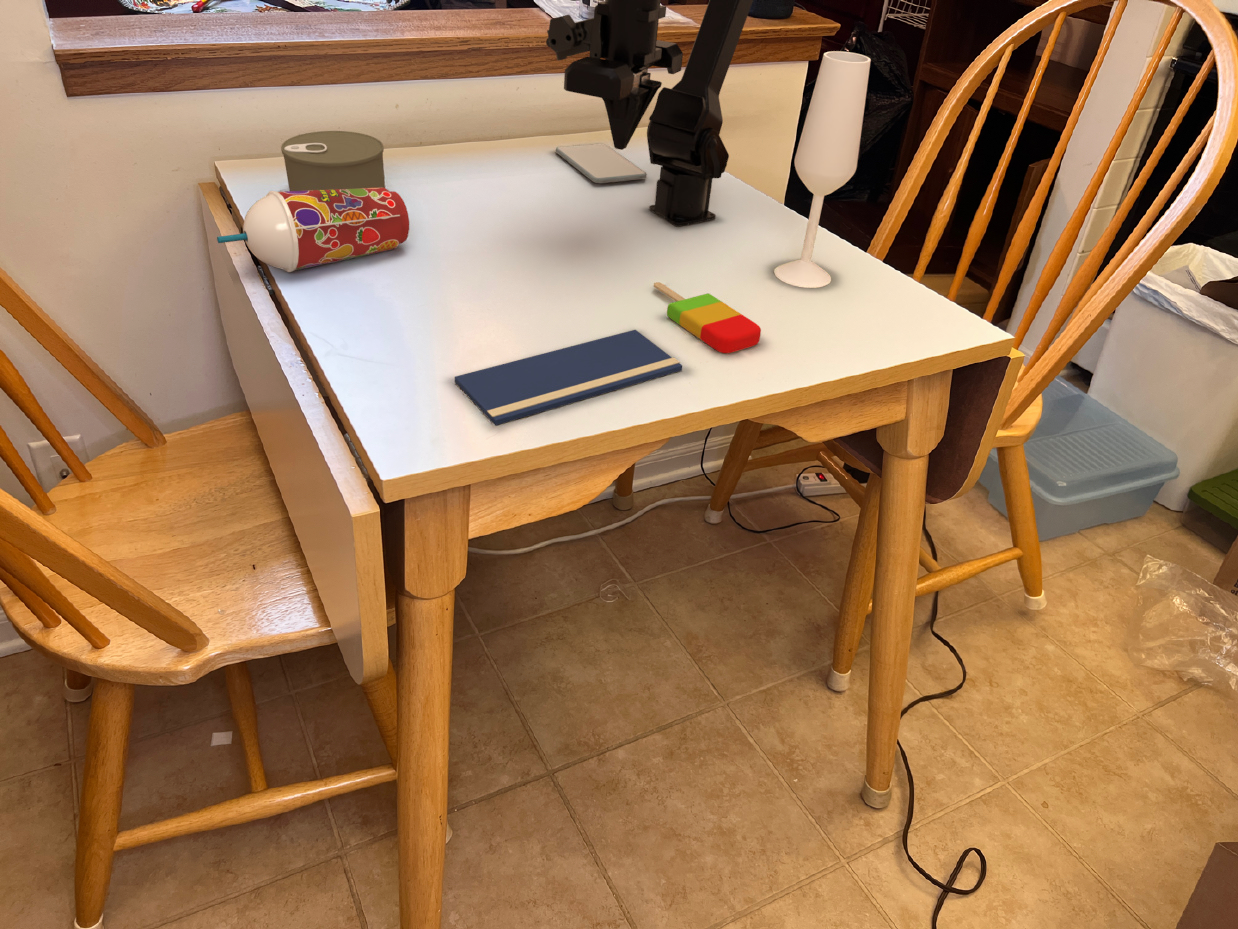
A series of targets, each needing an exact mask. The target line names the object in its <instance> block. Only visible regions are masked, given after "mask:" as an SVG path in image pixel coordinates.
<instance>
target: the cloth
mask: <svg viewBox="0 0 1238 929" xmlns="http://www.w3.org/2000/svg"><path fill="white" fill-rule="evenodd" d="M681 371H683V364H681V362H680V361H679V360H678V359H676V358H675V357H672V356H671V355H670V354H668V353H667V352H665V351H664V349H662V348H661V347H659V346H658V345H656V343H654V342H653V341H651V340H650V339H649V338H647V337H646V336H645V335H643V334H642V333H641V332H639V331H638V330H637V329H632V330H629V331H624V332H620V333H617V334H612V335H609V336H605V337H602V338H597V339H593V340H590V341H586V342H583V343H579V344H575V345H571V346H567V347H563V348H560V349H555V350H552V351H547V352H544V353H540V354H536V355H533V356H529V357H525V358H521V359H516V360H513V361H509V362H505V363H502V364H498V365H494V366H490V367H486V368H482V369H479V370H475V371H471V372H468V373H463V374H460V375H456V376H454V383H455V384H456V385H457V386H458V387H459V388H460V390H462V392H463V393H464V394H465V395H466V396H467V397H468V398H469V399H470V400H471V401H472V403H474V404H475V406H476V407H477V408H478V409H479V410H480V411H481V412H482V413H483V414H484V415H485V416H486V417H487V418H488V420H489V421H490V422H491V423H492V424H493V425H494V426H499V425H502V424H503V425H504V424H506V423H509V422H513V421H517V420H519V419H523V418H526V417H529V416H534V415H536V414H539V413H543V412H547V411H551V410H553V409H556V408H560V407H564V406H566V405H570V404H574V403H577V402H580V401H584V400H587V399H590V398H594V397H598V396H600V395H603V394H608V393H611V392H614V391H617V390H621V389H624V388H627V387H631V386H634V385H638V384H641V383H645V382H649V381H651V380H654V379H658V378H661V377H665V376H668V375H671V374H675V373H679V372H681Z"/></svg>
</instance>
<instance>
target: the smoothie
mask: <svg viewBox="0 0 1238 929" xmlns="http://www.w3.org/2000/svg"><path fill="white" fill-rule="evenodd" d="M409 233H410V217H409V211H408V208H407V205H406V204H405V201H404V199H403V198H402V197H401V194H399V193H398V192H397V191H392V190H391V191H390V190H388V189H387V188H386V187H385V188H359V189H333V190H307V191H289V190H287V191H286V190H285V191H284V190H283V191H274V190H269V192H267V194H266V195H264V196H263V197H262V198H260V199H258V200H256V202H255V203H253V204H252V205H251V207H249V209H248V210H247V212H246V214H245V216H244V219H243V224H242V233H236V234H229V235H219V236H216V240H217V243H218V244H226V243H232V242H239V241H240V242H241V241H244V242H245V244H246V246H247V247H248V249H249V252H251V253H252V254H253V255H254V256H255V257H256V259H258V260H259V261H261V263H264V264H266V265H268V266H269V267H273V268H277V269H281V270H282V271H283V272H287V273H292V272H294V271H299V270H303V269H309V268H312V267H317V266H323V265H326V264H332V263H336V262H341V261H345V260H349V259H355V258H359V257H363V256H364V257H365V256H368V255H373V254H377V253H383V252H385V251H386V252H387V251H391V250H395V249H397V248H398V246H399V245H400V244H404V243H405V242H406V241H407V239H408V237H409Z"/></svg>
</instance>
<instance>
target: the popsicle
mask: <svg viewBox="0 0 1238 929" xmlns="http://www.w3.org/2000/svg"><path fill="white" fill-rule="evenodd" d="M653 287H654V288H655V289H656V290H658V291H660V292H661V293H663V294H664V295H665V296H667V297H668V298H670V299H671V300H673V302H669V303H668V304H667V308H666V309H667V310H666V314H667V318H669V319H670V320H672V321H673V322H675V323H676V324H678V325H679V326H680V327H682V328H683V329H685V330H686V331H688V332H689V333H690V334H692V335H693V336H695V337H696V338H698V339H700V340H701V341H702V342H704V343H705V344H707V346H709V347H711V348H712V349H714V350H715V351H717V352H719V353H721V354H731V353H735V352H738V351H742V350H745V349H748V348H751V347H754V346H757V345H758V344H759V342H760V340H761V334H762V328H761V327H760V325H758V324H757V323H756V322H754V321H753V320H751V319H750V318H748V317H747V316H746V315H744V314H742V313H740V312H739V311H737V310H736V309H734V308H732V307H731V306H729V305H728V304H726V303H725V302H723V301H722V300H720V299H718V298H717V297H716V296H714V295H712V294H711V293H704V294H699V295H697V296H692V297H689V298H685V297H683V296H682V295H680V294H679V293H677V292H676V291H674V290H672V289H671V288H669V287H668V286H667V285H665V284H664V283H662V282H660V281H658V282H657V281H656V282H654V283H653Z"/></svg>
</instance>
